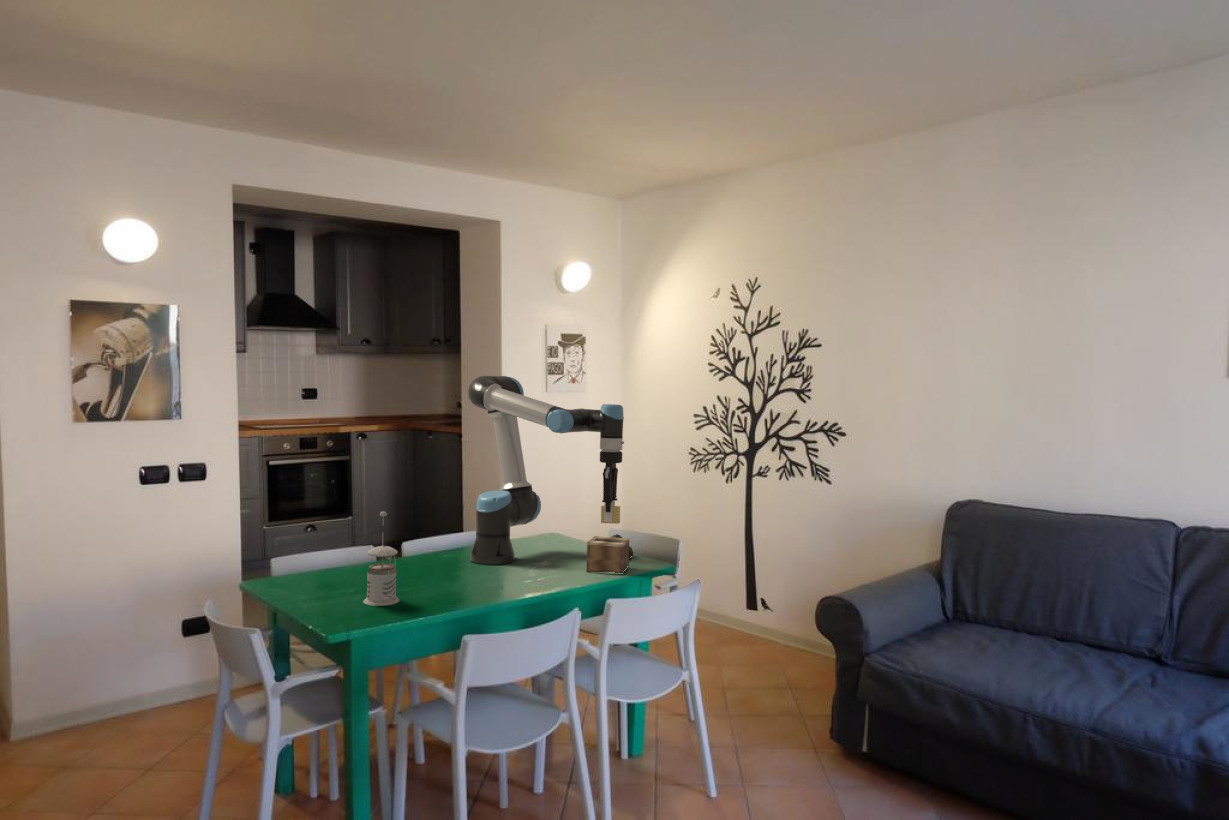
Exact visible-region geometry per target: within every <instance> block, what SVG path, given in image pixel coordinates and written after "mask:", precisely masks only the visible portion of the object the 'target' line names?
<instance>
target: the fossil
mask: <svg viewBox="0 0 1229 820" xmlns="http://www.w3.org/2000/svg"><path fill="white" fill-rule="evenodd" d="M611 537H615V538H623V536H621V535H620V534H618V533H617V534H614V535H613V534H612V536H611ZM631 556H632V557H633V556H634V551H633V549H632V547H631V546H630V545H629V558H630V557H631Z"/></svg>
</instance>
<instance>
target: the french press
mask: <svg viewBox="0 0 1229 820" xmlns="http://www.w3.org/2000/svg"><path fill="white" fill-rule="evenodd" d="M387 513H388V512H386V511H380V513H379V516H380V517H382V525H384V521H385V520H384V518H385V517H387V516H388V515H387ZM381 536H382V541H381V543H382V544H381V545H380V546H379V545H378V546H375V547H373V548H370V549H369V550H368V551H367V552H366V553H367V555H368V556H371V557H378V558H379V557H381V563H374V564H370V565H369V566H368V568H369V570H368V571H367V573H366V574H367V578H366V579H367V582H366V583H367V585H366V586H367V587H366V598H365V599H364V600H363V601H362V603H363V604H366V605H368V606H372V607H373V606H375V607H376V606H378V607H380V606H381V607H382V606H391V605H395V604H397V603H399V602H400V601H401V600H400V599H399V598H398V597H397V582H396V581H397V570H396V568H397V566H396V565H397V562H396V555H397V554H398V550H397V549H395V548H393V547H391V546H387V545H384V533H382V535H381ZM383 557H385V560H389V563H383V561H384V559H383ZM392 559H394V564H393V563H391V560H392ZM387 588H388V589H387Z"/></svg>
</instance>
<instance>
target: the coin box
mask: <svg viewBox="0 0 1229 820" xmlns="http://www.w3.org/2000/svg"><path fill="white" fill-rule="evenodd" d="M586 545H587V546H586V570H585V571H586V573H591V572H615V573H623V571H624V570H625V569H626V568H627V566H628V567H629V564H630V563H629V562H630V561H629V560H630V559H629V546H630V538H624V537H622V538H615V537H612V536H600V535H599V536H598V535H594V536H592V538H590V539H589V540H588V541H587V542H586ZM623 574H624V573H623Z"/></svg>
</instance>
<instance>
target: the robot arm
mask: <svg viewBox="0 0 1229 820" xmlns="http://www.w3.org/2000/svg"><path fill="white" fill-rule="evenodd" d="M467 389H468V391H467V394H468V395H467V396H468V399H469V401H470V402H471V404H473V405H474V406H475V407H477V408H480V409H482V410H486V411H487V416H488V417H489V418H491V419H492V421H493V427H494V433H495V440H496V446H497V453H498V458H499V459H498V461H499V466H500V473H501V478H502V486H501V487H500V488H499V490H490V491H486V492H485V491H484V492H482V493H481V494H479V495H478V497H477V500H476V507H475V508H476V511H475V512H476V514H475V515H476V521H475V523H476V524H475V528H476V529H475V540H474V542H473V545H472V548H471V551H470V557H469V558H470V559H469V560H470V562H473V563H476V564H481V565H504V564H510V563H513V562H514V561H515V555H516V554H515V550H514V547H513V543H512V540H511V527H516V526H520V525H522V526H523V525H527V524H528V523H529V524H530V523H531V522H533V521H535V520H536V519H537V518H538V516H539V515H540V513H541V508H542V502H541V501H542V500H541V498H540V496H539V495H538V494H537V493H536V492H535V491H534V490H533V484H531V483H530V482H528V480H527V476H526V475H527V474H526V468H525V462H524V455H523V449H522V448H523V447H522V441H521V434H520V429H519V422H518V418H519V419H523V420H526V421H528V422H530V423H531V422H532V423H534V424H538V425H541V426H543V427H547V428H548V430H550V431H551V432H553V433H555V434H567V433H583V432H589V433H590V432H592V433H593V432H594V433H595V432H596V433H600V436H599V437H600V438H599V449H600V450H601V451H600V452H599V462H600V463H603V464H605V465H604V468H603V472H602V477H603V478H602V479H603V481H602V482H603V483H602V486H603V487H602V488H603V489H602V490H603V491H602V495H603V496H602V500H601V502H602V503H604V505H603V506H604V522H612V520H613V506H616V505H615V504H616V501H618V498H617V487H618V472H619V469H618V467H617V464H620V463H623V452H622V450H623V445H624V444H625V440H624V441H623V438H624V437H623V435H624V434H623V433H624V429H623V428H624V419H625V417H624V407H623V405H621V404H612V403H611V404H610V403H608V404H607V403H604V404H602V405H600V409H591V408H589V409H588V408H574V409H568V408H567V409H566V408H564V407H560V406H557V405H554V404H551V403H548V402H544V401H542V400H538V399H535V398H533V397H532V398H531V397H529V396H525V393H524V388H523V386H522V384H521V383H520V381H519V380H517V379H516V378H515V377H511V376H507V375H481V376H478V377H476V378H475V379H473V380H472V381H471V382H470V384H469V387H468V388H467Z"/></svg>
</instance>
